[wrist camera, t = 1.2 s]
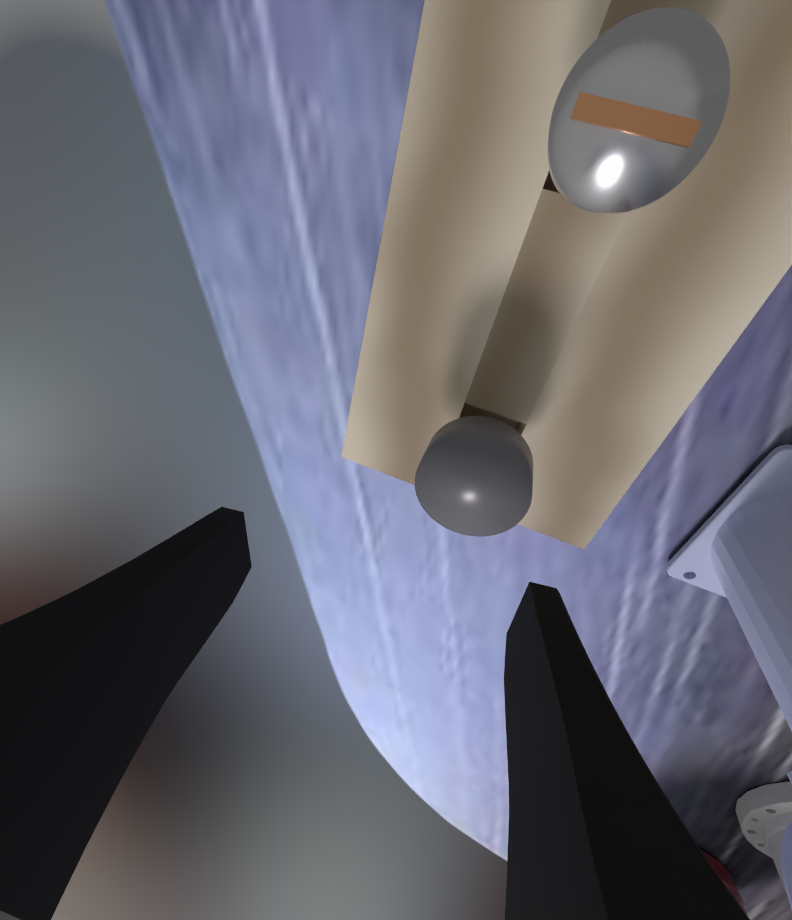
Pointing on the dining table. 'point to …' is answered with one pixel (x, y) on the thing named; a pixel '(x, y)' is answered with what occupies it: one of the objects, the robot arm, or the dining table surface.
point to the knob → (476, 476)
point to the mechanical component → (766, 818)
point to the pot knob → (638, 111)
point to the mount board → (563, 255)
